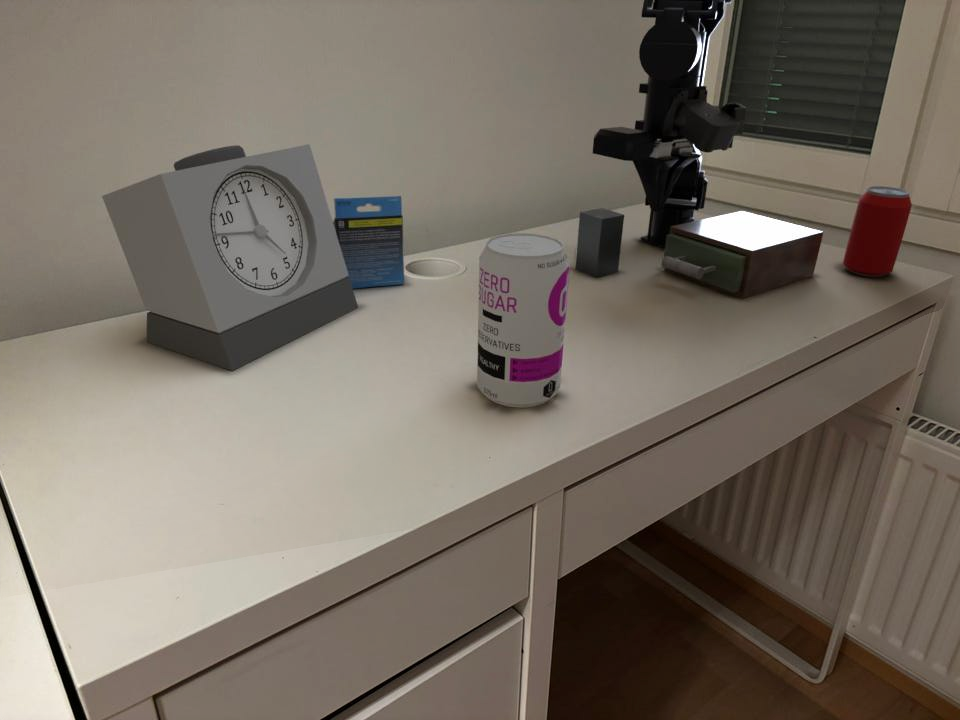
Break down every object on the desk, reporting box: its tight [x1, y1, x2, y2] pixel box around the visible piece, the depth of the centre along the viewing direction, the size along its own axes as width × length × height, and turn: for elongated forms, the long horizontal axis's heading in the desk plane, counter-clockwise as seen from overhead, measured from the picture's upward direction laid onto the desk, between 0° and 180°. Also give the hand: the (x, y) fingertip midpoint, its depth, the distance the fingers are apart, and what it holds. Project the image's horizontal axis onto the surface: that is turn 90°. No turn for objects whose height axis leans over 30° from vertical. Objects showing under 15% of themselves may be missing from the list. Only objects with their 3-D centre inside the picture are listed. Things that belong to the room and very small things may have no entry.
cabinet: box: [664, 210, 824, 299], centre depth 102 cm, size 17×14×7 cm
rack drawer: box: [660, 234, 746, 293], centre depth 100 cm, size 20×12×5 cm, turn 126°
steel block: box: [575, 207, 625, 279], centre depth 101 cm, size 4×4×8 cm
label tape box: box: [332, 195, 405, 290], centre depth 94 cm, size 9×4×12 cm, turn 106°
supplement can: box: [476, 232, 571, 409], centre depth 67 cm, size 8×8×15 cm
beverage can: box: [842, 185, 913, 278], centre depth 102 cm, size 7×7×12 cm
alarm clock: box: [101, 143, 359, 372], centre depth 80 cm, size 20×16×20 cm
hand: (656, 211), depth 87 cm, fingers closed
